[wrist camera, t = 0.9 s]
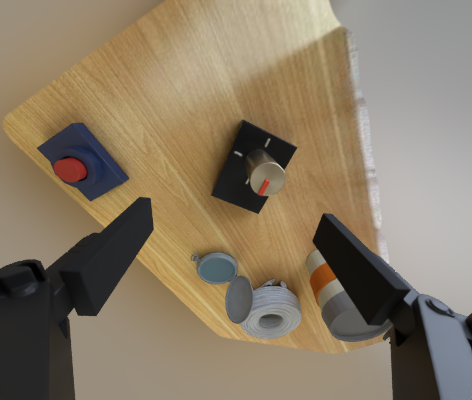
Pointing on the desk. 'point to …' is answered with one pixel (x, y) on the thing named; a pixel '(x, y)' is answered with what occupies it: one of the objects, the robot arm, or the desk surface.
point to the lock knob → (264, 173)
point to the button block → (85, 160)
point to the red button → (70, 169)
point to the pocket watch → (239, 291)
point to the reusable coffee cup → (338, 304)
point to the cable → (273, 312)
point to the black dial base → (234, 172)
